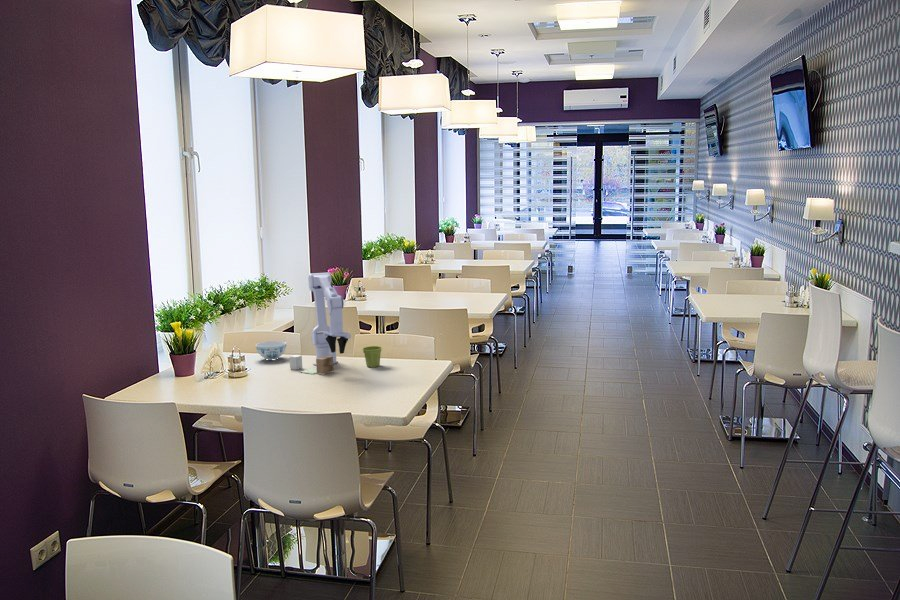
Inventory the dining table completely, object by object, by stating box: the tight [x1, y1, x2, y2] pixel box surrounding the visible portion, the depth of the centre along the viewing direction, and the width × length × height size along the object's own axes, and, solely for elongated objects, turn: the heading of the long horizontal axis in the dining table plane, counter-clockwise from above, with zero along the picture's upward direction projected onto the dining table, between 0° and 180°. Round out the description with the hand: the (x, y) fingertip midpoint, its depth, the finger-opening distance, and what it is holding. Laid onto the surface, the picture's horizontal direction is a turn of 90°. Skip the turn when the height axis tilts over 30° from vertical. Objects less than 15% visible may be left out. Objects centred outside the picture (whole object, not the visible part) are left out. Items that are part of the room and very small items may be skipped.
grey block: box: [289, 354, 303, 370], centre depth 369 cm, size 4×4×6 cm
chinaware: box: [255, 340, 287, 360], centre depth 391 cm, size 15×15×8 cm
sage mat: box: [300, 366, 317, 375], centre depth 364 cm, size 11×8×1 cm
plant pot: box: [361, 345, 383, 368], centre depth 370 cm, size 9×9×9 cm
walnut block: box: [315, 356, 335, 375], centre depth 360 cm, size 7×4×7 cm, turn 148°
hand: (337, 352), depth 354 cm, fingers open, 4 cm apart
